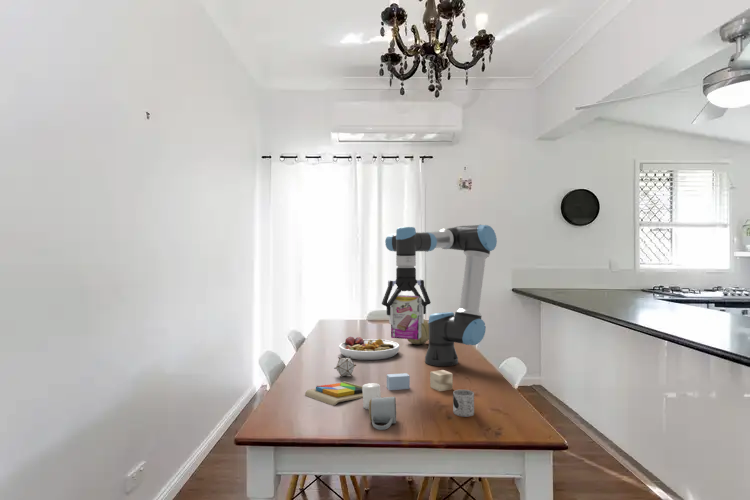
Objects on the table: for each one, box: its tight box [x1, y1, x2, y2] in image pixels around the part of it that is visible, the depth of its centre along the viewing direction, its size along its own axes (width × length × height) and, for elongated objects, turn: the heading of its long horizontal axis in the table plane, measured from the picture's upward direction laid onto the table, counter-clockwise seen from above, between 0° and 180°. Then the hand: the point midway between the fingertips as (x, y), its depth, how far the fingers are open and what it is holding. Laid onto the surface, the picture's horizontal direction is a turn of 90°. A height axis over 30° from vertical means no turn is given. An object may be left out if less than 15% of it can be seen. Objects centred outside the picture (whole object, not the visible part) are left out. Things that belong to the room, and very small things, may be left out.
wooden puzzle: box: [304, 381, 363, 407], centre depth 174 cm, size 18×19×4 cm
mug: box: [452, 389, 475, 418], centre depth 152 cm, size 10×7×7 cm
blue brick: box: [386, 372, 411, 391], centre depth 182 cm, size 8×4×5 cm, turn 102°
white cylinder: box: [361, 382, 382, 411], centre depth 160 cm, size 6×6×7 cm
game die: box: [333, 356, 357, 379], centre depth 199 cm, size 9×8×10 cm
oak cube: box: [429, 369, 454, 392], centre depth 181 cm, size 6×6×6 cm
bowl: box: [339, 336, 400, 361], centre depth 240 cm, size 30×30×8 cm
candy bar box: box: [390, 294, 423, 340], centre depth 185 cm, size 11×5×16 cm, turn 71°
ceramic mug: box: [368, 396, 397, 431], centre depth 145 cm, size 11×8×8 cm
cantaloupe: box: [406, 319, 429, 345], centre depth 264 cm, size 15×15×15 cm
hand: (406, 323), depth 185 cm, fingers closed on candy bar box, 12 cm apart
